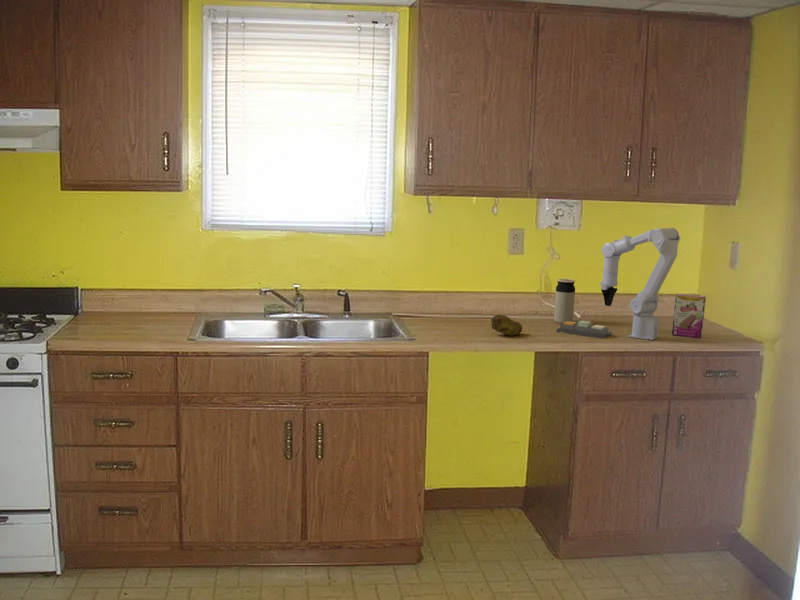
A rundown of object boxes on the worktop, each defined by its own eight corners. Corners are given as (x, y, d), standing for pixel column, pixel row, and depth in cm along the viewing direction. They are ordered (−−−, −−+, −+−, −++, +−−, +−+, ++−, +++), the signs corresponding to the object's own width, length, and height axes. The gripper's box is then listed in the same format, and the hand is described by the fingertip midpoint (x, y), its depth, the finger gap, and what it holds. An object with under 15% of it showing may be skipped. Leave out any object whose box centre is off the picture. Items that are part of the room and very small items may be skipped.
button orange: (576, 327, 330) (576, 322, 330) (572, 328, 327) (572, 323, 326) (566, 325, 332) (567, 321, 332) (563, 327, 329) (563, 322, 329)
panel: (611, 334, 326) (611, 327, 325) (603, 338, 317) (603, 330, 317) (565, 328, 336) (566, 321, 335) (556, 332, 327) (556, 324, 327)
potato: (525, 337, 315) (526, 316, 314) (492, 336, 314) (493, 316, 312) (520, 333, 323) (521, 313, 322) (488, 332, 322) (489, 312, 321)
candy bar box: (671, 335, 328) (675, 294, 325) (673, 333, 332) (676, 293, 330) (701, 338, 323) (705, 297, 321) (702, 336, 328) (706, 295, 325)
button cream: (605, 331, 324) (605, 326, 324) (602, 332, 320) (602, 327, 320) (595, 329, 326) (595, 324, 326) (592, 331, 323) (592, 326, 322)
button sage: (590, 326, 327) (591, 321, 326) (587, 328, 323) (587, 323, 323) (581, 325, 329) (581, 320, 329) (577, 326, 326) (577, 321, 325)
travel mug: (562, 324, 344) (565, 281, 342) (550, 321, 351) (552, 279, 348) (576, 323, 348) (579, 280, 346) (564, 319, 355) (566, 278, 352)
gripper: (606, 269, 340) (604, 302, 343) (594, 273, 328) (592, 306, 330) (623, 271, 337) (620, 304, 339) (612, 274, 325) (609, 308, 327)
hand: (608, 305), depth 334 cm, fingers closed
